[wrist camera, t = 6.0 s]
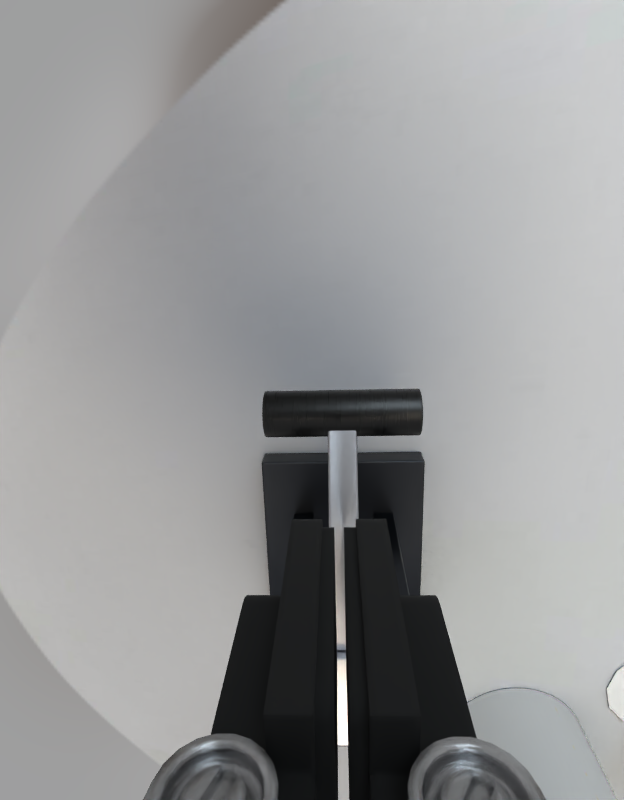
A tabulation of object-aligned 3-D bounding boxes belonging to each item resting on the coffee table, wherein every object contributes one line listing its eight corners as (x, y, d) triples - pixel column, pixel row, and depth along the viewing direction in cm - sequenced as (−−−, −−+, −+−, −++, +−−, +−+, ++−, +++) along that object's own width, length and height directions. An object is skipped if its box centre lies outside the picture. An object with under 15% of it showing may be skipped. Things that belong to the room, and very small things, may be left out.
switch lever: (269, 396, 22) (261, 385, 20) (414, 394, 22) (423, 383, 20) (267, 715, 20) (258, 745, 18) (427, 718, 20) (438, 749, 17)
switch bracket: (264, 453, 27) (213, 603, 16) (421, 451, 27) (481, 604, 16) (274, 615, 30) (237, 840, 19) (416, 616, 30) (463, 846, 19)
